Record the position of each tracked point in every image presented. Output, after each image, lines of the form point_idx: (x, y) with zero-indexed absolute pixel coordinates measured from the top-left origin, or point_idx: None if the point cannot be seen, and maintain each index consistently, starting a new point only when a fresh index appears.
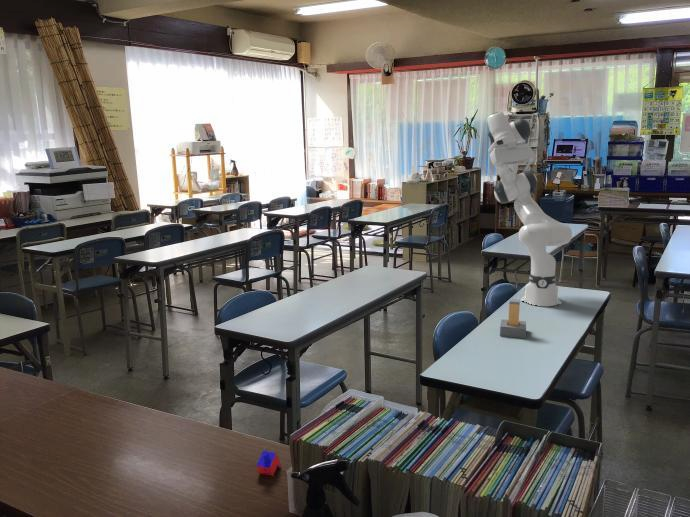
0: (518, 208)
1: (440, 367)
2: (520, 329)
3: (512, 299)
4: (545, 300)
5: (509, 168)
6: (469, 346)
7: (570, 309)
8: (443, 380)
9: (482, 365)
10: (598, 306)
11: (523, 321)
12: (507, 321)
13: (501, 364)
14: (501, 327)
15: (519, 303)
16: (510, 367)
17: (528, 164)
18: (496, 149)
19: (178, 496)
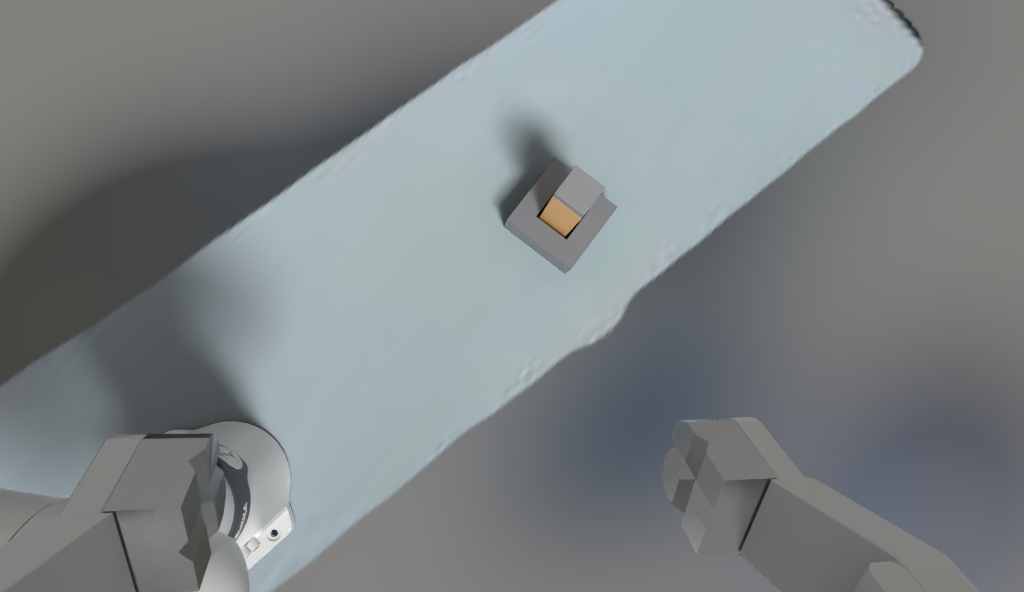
0: None
1: (872, 81)
2: (567, 169)
3: (579, 205)
4: (242, 433)
5: (764, 468)
6: (737, 175)
7: (185, 362)
8: (897, 15)
9: (772, 50)
10: (45, 355)
11: (516, 221)
12: (565, 241)
13: (725, 37)
14: (613, 205)
15: (575, 167)
16: (716, 13)
17: (66, 534)
18: None
19: None
